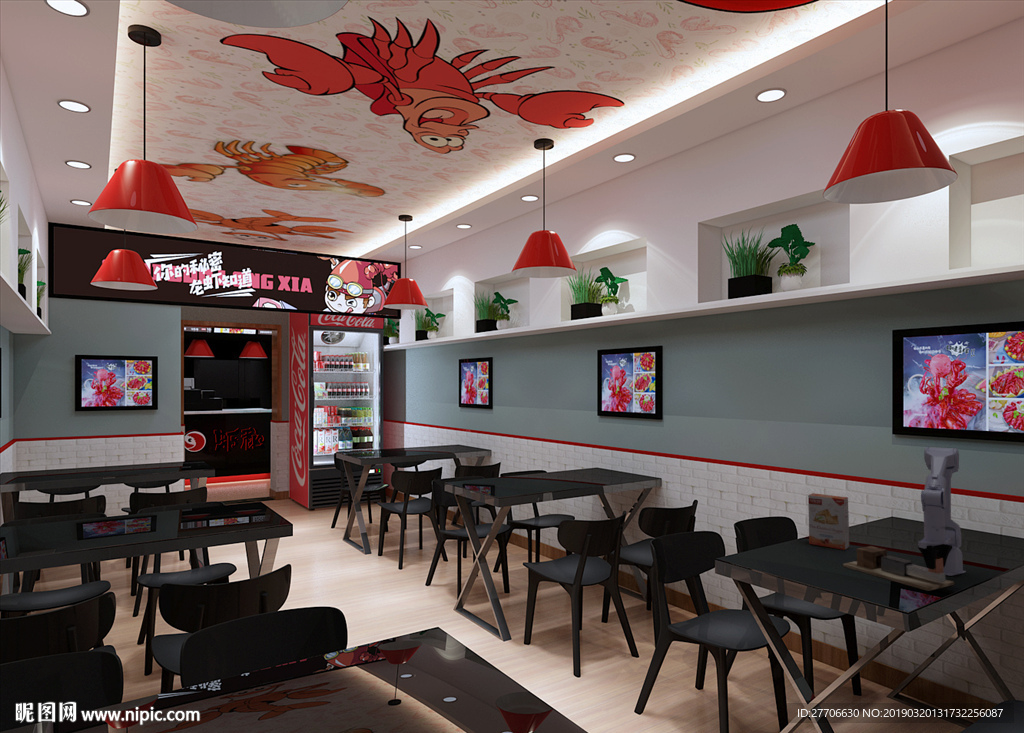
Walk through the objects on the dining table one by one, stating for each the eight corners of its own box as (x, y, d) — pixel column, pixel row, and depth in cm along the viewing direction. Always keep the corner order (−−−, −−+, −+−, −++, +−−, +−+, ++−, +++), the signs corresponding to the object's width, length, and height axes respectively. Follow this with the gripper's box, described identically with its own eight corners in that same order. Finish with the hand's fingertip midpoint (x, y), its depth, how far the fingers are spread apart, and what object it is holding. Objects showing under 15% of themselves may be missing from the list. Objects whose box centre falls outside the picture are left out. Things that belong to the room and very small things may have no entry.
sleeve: (889, 568, 215) (889, 555, 215) (912, 574, 208) (912, 560, 208) (881, 570, 213) (880, 556, 213) (904, 576, 206) (903, 562, 206)
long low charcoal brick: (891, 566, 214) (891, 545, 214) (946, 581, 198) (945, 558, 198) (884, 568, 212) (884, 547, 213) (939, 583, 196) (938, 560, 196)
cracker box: (808, 544, 253) (807, 494, 253) (813, 541, 257) (812, 492, 258) (845, 550, 243) (843, 498, 243) (849, 547, 247) (848, 496, 248)
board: (867, 561, 227) (867, 558, 227) (953, 584, 200) (953, 581, 200) (842, 566, 221) (842, 563, 221) (928, 591, 194) (928, 587, 194)
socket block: (871, 562, 223) (870, 545, 223) (887, 566, 218) (886, 549, 218) (857, 565, 220) (856, 548, 220) (872, 569, 214) (872, 552, 214)
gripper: (933, 531, 193) (935, 573, 192) (960, 526, 199) (962, 567, 198) (911, 526, 199) (912, 567, 199) (937, 522, 205) (939, 562, 205)
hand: (935, 567), depth 199 cm, fingers open, 5 cm apart
